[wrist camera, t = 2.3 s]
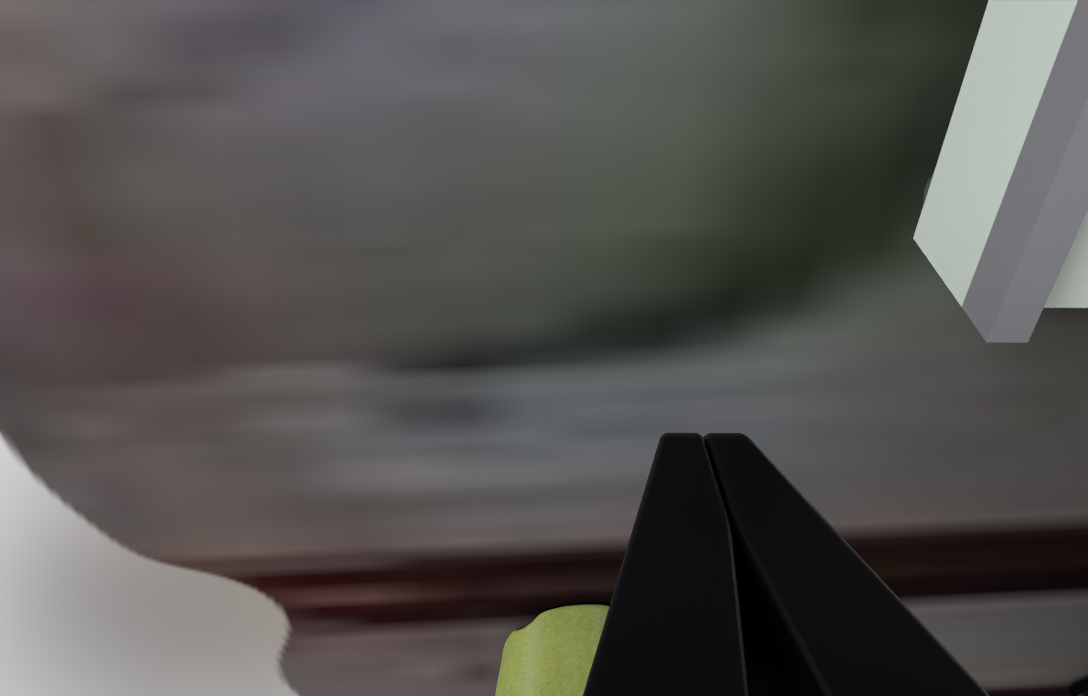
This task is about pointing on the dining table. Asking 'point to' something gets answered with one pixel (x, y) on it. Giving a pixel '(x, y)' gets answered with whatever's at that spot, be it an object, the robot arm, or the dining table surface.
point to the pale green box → (1015, 171)
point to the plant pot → (552, 653)
